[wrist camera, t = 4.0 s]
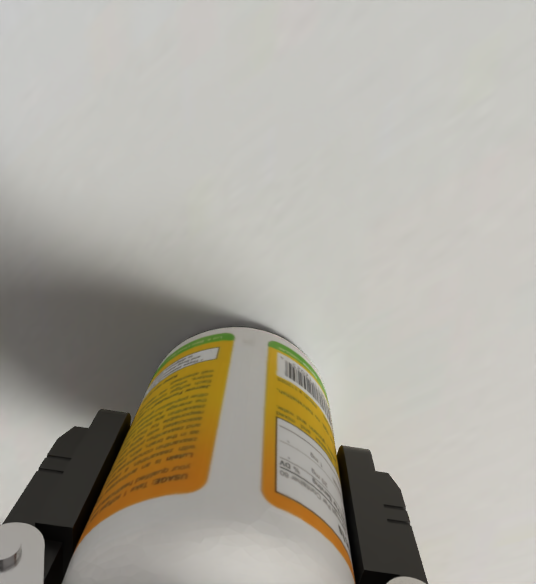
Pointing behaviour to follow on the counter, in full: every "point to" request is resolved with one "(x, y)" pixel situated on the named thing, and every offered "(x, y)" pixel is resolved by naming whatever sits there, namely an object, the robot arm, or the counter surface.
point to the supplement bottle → (223, 474)
